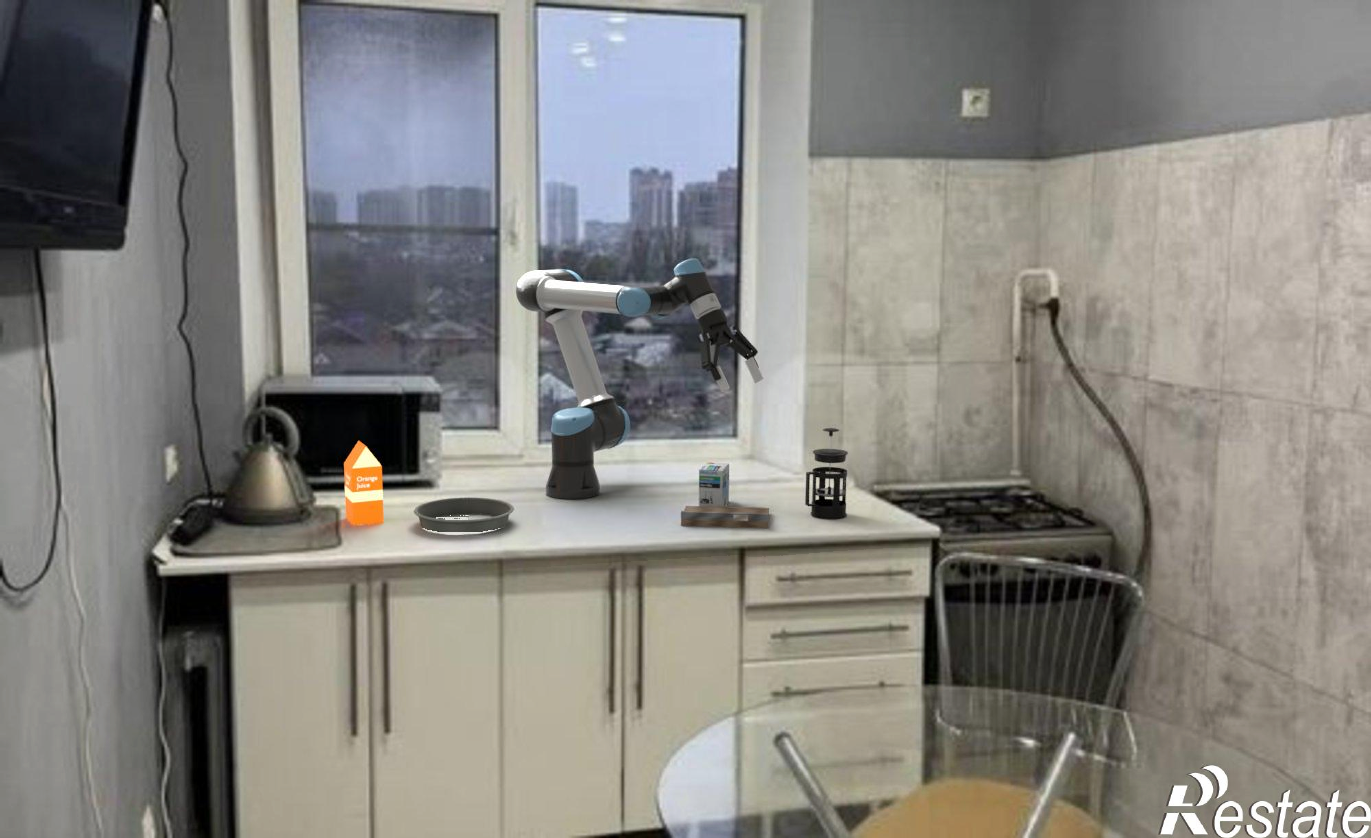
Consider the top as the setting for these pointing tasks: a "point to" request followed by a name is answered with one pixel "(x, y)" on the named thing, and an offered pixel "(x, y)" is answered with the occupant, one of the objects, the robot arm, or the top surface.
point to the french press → (829, 506)
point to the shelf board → (725, 516)
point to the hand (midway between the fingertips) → (742, 385)
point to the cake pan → (463, 507)
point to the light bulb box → (714, 484)
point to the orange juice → (363, 487)
